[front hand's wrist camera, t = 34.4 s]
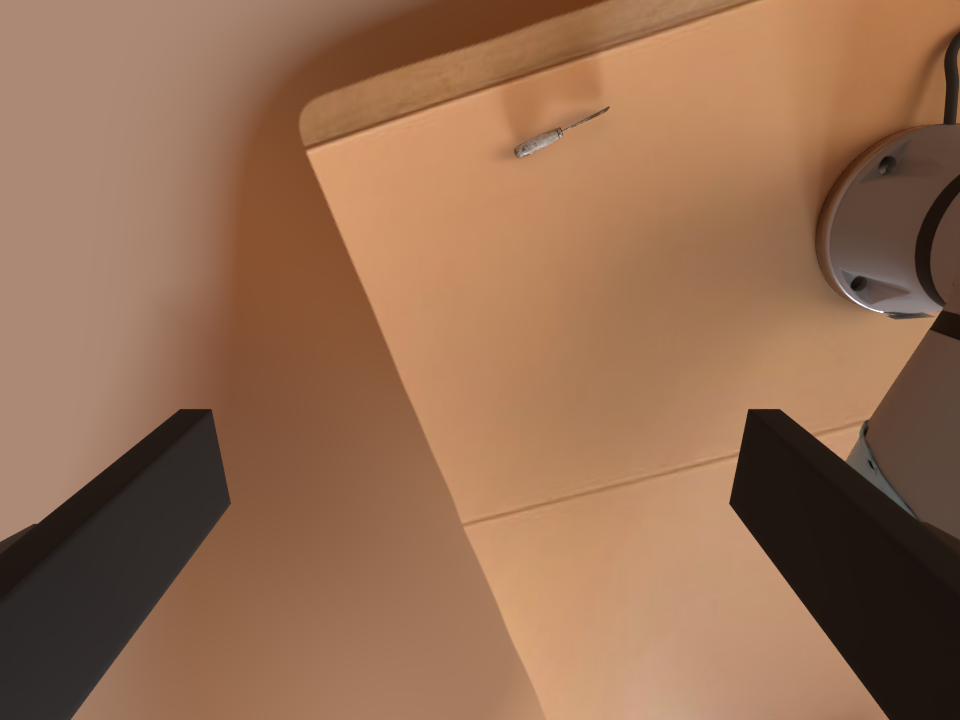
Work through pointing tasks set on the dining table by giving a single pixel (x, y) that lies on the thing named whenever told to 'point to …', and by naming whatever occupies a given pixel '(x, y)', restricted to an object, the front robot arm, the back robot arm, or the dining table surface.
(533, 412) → the dining table surface
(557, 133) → the putty knife
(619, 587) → the dining table surface
